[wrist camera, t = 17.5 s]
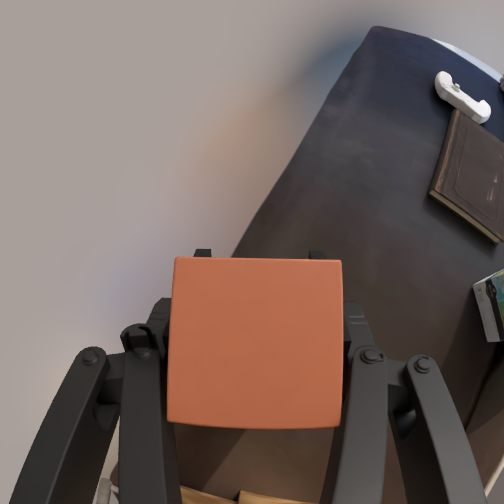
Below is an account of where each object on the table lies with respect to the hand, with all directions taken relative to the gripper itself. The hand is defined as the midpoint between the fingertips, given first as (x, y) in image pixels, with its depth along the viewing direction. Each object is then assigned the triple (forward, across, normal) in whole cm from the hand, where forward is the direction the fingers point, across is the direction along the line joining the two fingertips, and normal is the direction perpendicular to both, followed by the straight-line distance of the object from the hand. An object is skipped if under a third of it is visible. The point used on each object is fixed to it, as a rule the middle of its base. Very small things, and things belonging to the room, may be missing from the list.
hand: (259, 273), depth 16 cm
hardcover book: (+34, +39, 0) cm, 51 cm away
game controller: (+47, +42, +13) cm, 64 cm away
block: (-1, 0, -4) cm, 4 cm away
